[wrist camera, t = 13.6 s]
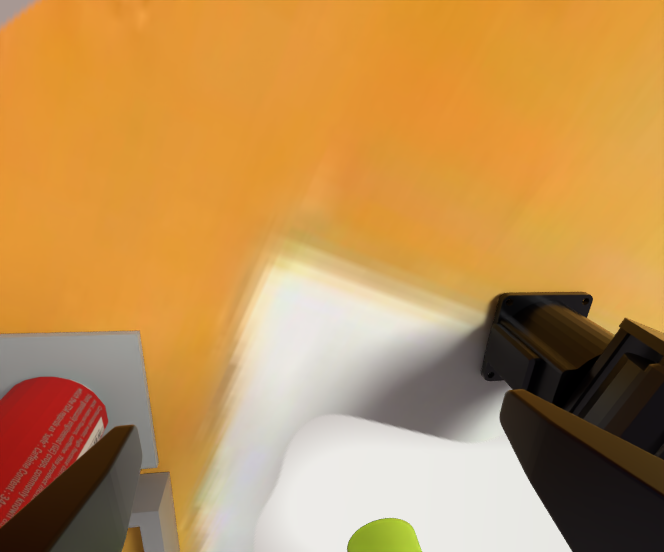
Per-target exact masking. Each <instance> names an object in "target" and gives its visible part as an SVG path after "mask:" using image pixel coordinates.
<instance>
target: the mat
mask: <svg viewBox="0 0 664 552" xmlns="http://www.w3.org/2000/svg"><path fill="white" fill-rule="evenodd" d="M37 377H60V378H66V379H71V380H74V381H76V382H79V383H81V384H83V385H85V386H87V387H88V388H90V389H91V390H92V391H93V392H94V393H95V394H96V395H97V397H98V398H99V399H100V400H101V401H102V403H103V404H104V405H105V407H106V412H107V417H108V424H107V426H106V428H105V431H104V433H103V435H102V437H103V436H104V435H106V434H107V433H108V432H109V431H110V430H111V429H112V428H114V427H116V426H120V425H131V424H133V425H136V427H137V428H138V433H139V438H140V443H141V448H142V454H143V457H142V465H141V469H147V468H157V466H158V463H159V462H158V455H157V448H156V441H155V435H154V428H153V421H152V414H151V407H150V400H149V393H148V386H147V379H146V372H145V365H144V359H143V352H142V345H141V338H140V331H109V332H66V333H23V334H0V400H1V399H2V398H3V397H4V396H5V395H6V394H7V393H8V392H9V391H10V390H11V389H12V388H13V387H14V386H15V385H16V384H18V383H20V382H22V381H24V380H28V379H32V378H37ZM102 437H101V438H102Z"/></svg>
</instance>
